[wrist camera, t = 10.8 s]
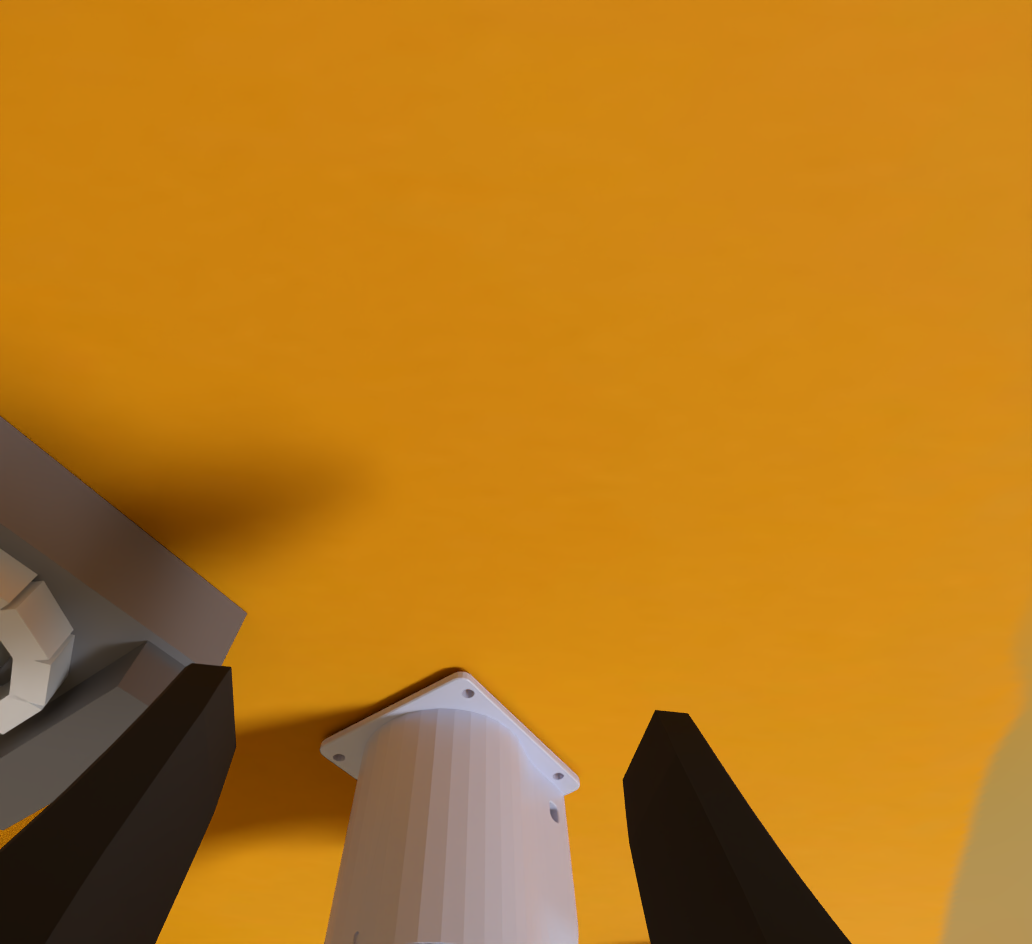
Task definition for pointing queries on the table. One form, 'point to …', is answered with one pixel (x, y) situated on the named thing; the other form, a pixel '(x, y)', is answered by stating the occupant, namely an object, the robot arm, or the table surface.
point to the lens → (3, 655)
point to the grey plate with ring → (84, 625)
